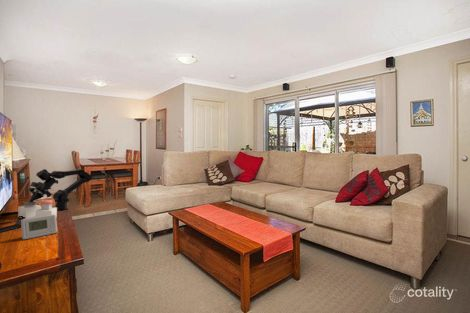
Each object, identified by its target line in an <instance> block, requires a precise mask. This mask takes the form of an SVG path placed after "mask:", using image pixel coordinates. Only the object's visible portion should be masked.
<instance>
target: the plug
mask: <svg viewBox="0 0 470 313" xmlns="http://www.w3.org/2000/svg"><path fill="white" fill-rule="evenodd" d="M36 203H37V201H36V200H35V201H33V202H29V201H24V202H23V206H24V207H33V206H35V205H37V204H36Z"/></svg>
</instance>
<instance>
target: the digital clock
mask: <svg viewBox="0 0 470 313" xmlns="http://www.w3.org/2000/svg"><path fill="white" fill-rule="evenodd" d="M20 226H21V227H20V228H21V229H20V230H21V239H22V240H28V239H35V238H40V237H45V236H50V235H53V234H56V233H58V225H57V217H56V215H55V214H52V215H45V216H38V217H31V218H23V219H21V221H20Z"/></svg>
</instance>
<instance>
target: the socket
mask: <svg viewBox="0 0 470 313" xmlns="http://www.w3.org/2000/svg"><path fill="white" fill-rule="evenodd" d="M40 208H41V205H37V204H35V206H33V207H24V205H21V206H18V209H17V210H18V212H17V214H18V215H17V216H18V217H19V216H23V217H25V218H24V219H26V218H32V217H35V214H36V210H38V209H40ZM19 218H20V217H19Z"/></svg>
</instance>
